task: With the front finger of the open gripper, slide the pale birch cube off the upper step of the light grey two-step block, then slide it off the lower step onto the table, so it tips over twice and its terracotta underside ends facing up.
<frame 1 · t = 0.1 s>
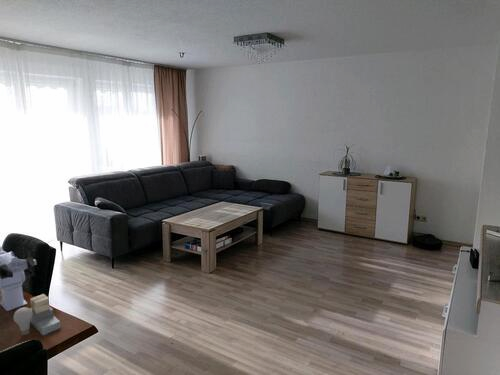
hand: (23, 271, 142), 22 cm above the table, tool horizontal, fingers open, 7 cm apart
lightbulb: (26, 335, 138), on the table
steps: (45, 324, 144), on the table
birch cube: (40, 309, 145), point 6 cm above the table, touching steps
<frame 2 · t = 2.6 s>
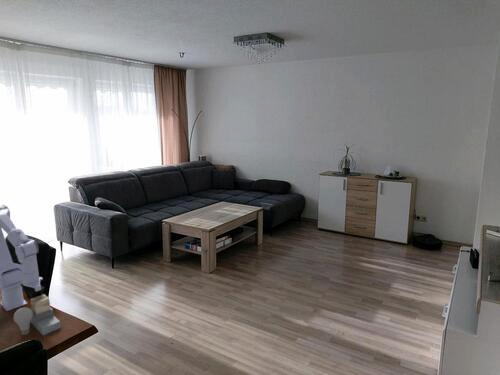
hand: (34, 301, 149), 7 cm above the table, tool pointing down, fingers open, 6 cm apart
birch cube: (41, 310, 144), point 6 cm above the table, touching gripper
everything else where it was.
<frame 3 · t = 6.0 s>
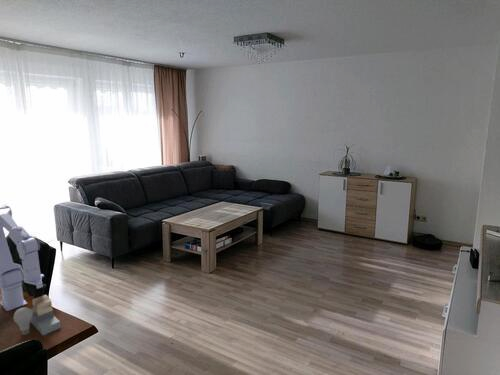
hand: (35, 298, 147), 9 cm above the table, tool pointing down, fingers open, 7 cm apart
birch cube: (42, 310, 143), point 6 cm above the table, tilted 11°, touching gripper, steps
everything else where it was.
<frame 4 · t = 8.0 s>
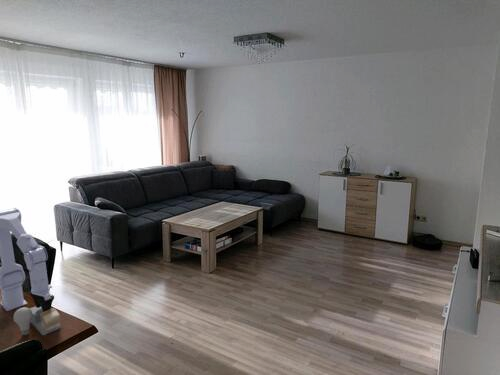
hand: (43, 310, 143), 6 cm above the table, tool pointing down, fingers open, 7 cm apart
birch cube: (47, 315, 140), point 6 cm above the table, tilted 100°, touching steps
everything else where it was.
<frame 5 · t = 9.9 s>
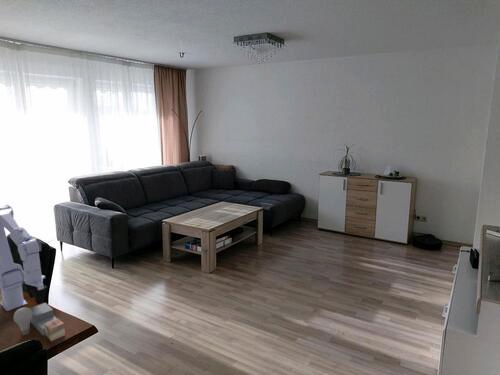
hand: (36, 300, 146), 8 cm above the table, tool pointing down, fingers open, 7 cm apart
birch cube: (54, 323, 136), point 5 cm above the table, tilted 180°
everything else where it was.
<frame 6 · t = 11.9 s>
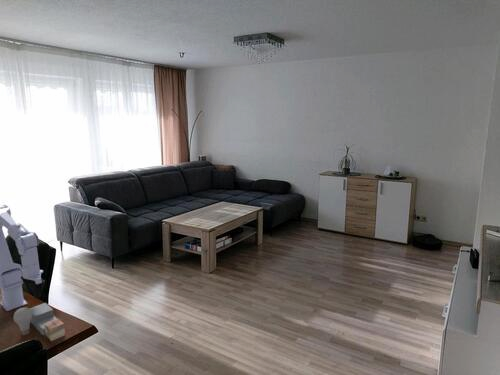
hand: (34, 294, 147), 10 cm above the table, tool pointing down, fingers open, 7 cm apart
nothing on the table moved.
at the end: birch cube tilted 180°; birch cube inside the target area (0.5 cm from its centre), point 4.9 cm above the table; lightbulb moved 0.2 cm from its start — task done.
